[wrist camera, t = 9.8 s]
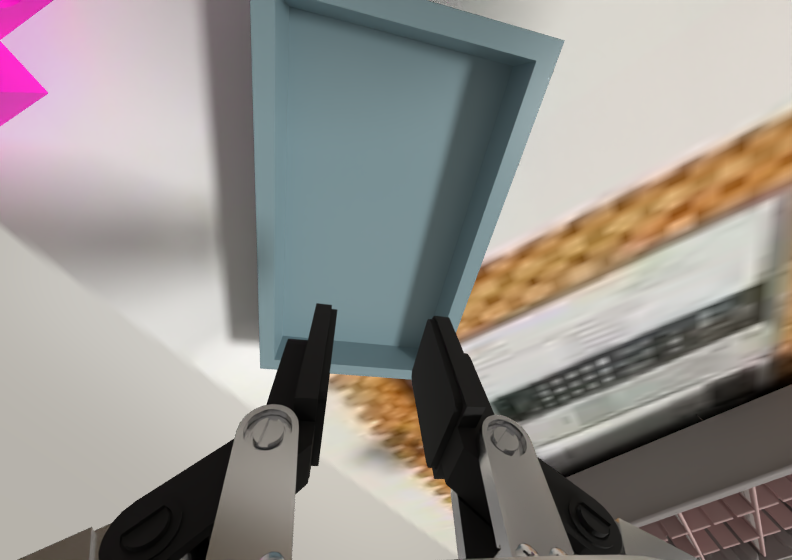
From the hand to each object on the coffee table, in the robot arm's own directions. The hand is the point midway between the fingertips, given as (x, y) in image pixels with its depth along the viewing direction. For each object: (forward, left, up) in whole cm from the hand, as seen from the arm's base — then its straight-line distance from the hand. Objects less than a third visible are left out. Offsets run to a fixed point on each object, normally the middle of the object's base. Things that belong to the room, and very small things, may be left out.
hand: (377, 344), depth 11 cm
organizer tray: (-51, +30, -13) cm, 61 cm away
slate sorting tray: (0, 0, -12) cm, 12 cm away
